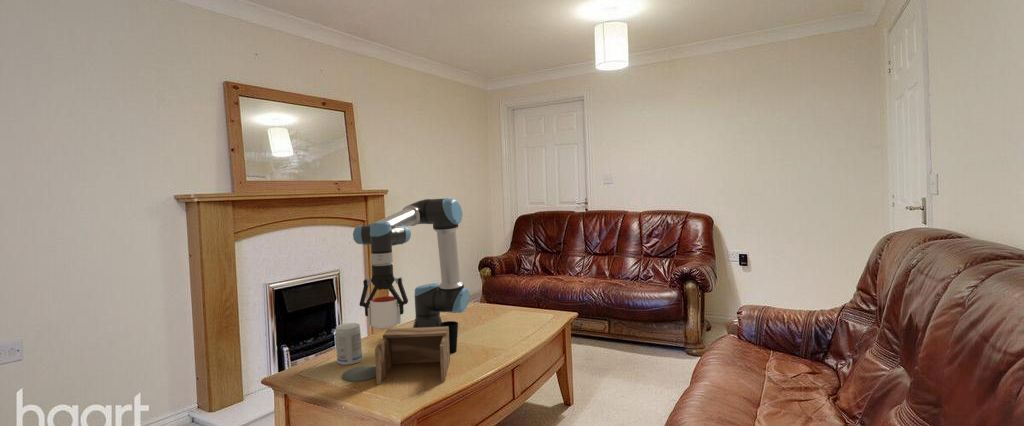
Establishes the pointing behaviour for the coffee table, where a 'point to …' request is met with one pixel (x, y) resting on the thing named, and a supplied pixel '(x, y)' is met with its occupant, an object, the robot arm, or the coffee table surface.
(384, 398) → the coffee table surface
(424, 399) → the coffee table surface
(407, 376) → the coffee table surface
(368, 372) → the coaster
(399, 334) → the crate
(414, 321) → the robot arm
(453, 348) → the cup
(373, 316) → the cup
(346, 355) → the supplement tub
